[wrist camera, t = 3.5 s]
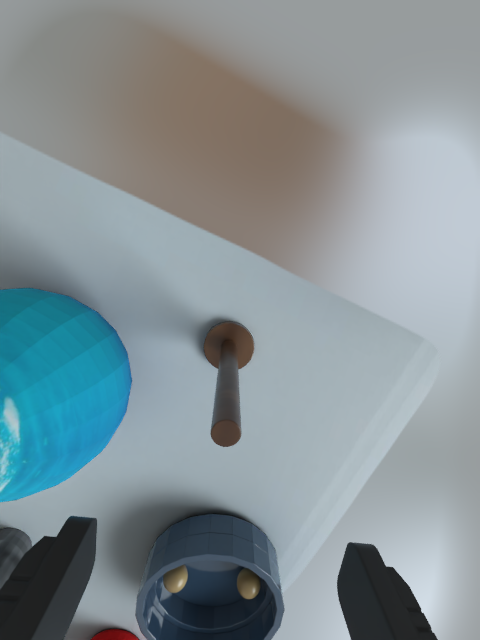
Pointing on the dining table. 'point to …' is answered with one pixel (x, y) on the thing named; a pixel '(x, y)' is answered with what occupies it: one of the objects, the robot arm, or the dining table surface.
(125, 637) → the soda can
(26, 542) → the beverage cup
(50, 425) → the decorative orb
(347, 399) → the dining table surface
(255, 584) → the bead
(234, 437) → the stirrer
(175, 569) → the bead
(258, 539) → the bowl
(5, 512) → the dining table surface
